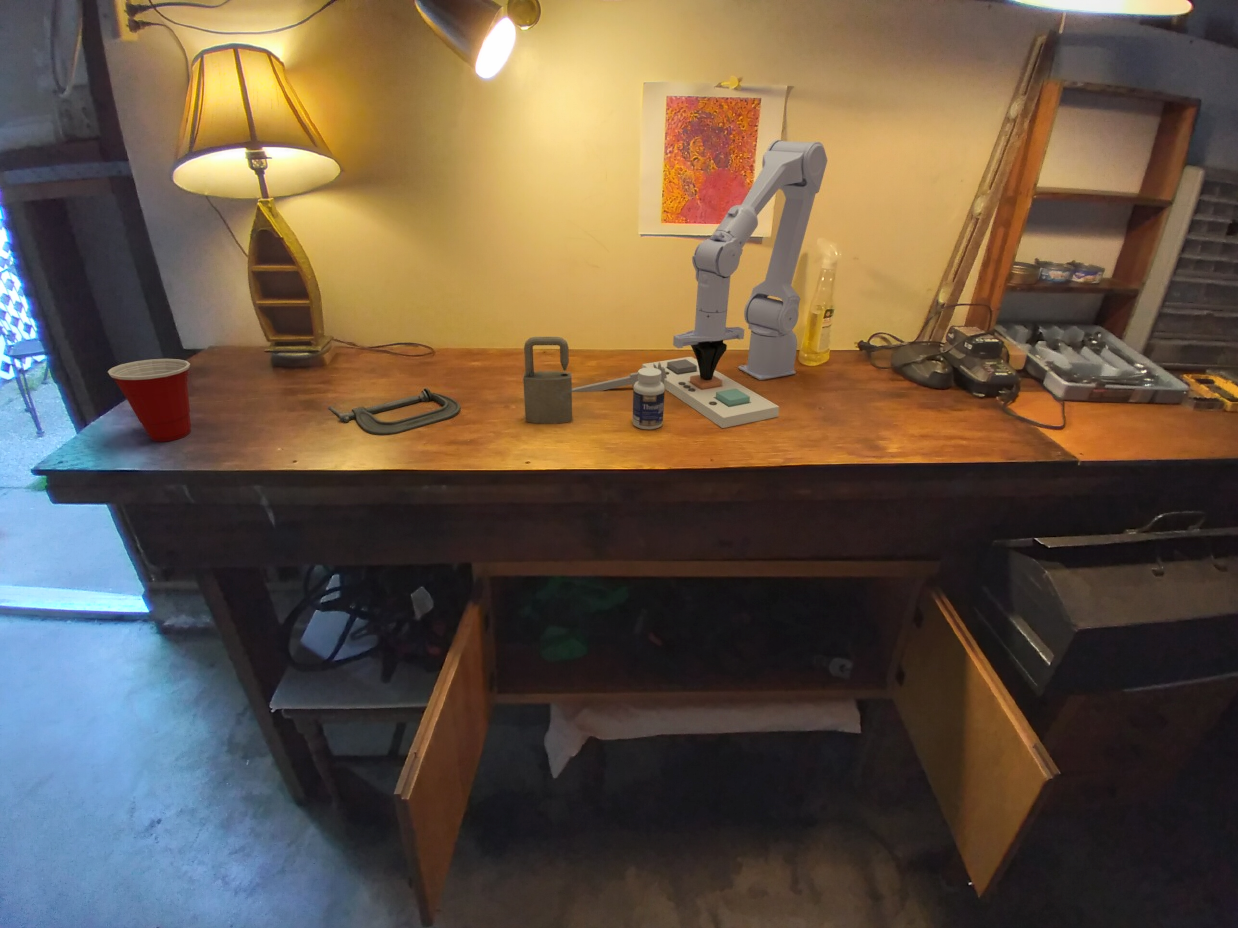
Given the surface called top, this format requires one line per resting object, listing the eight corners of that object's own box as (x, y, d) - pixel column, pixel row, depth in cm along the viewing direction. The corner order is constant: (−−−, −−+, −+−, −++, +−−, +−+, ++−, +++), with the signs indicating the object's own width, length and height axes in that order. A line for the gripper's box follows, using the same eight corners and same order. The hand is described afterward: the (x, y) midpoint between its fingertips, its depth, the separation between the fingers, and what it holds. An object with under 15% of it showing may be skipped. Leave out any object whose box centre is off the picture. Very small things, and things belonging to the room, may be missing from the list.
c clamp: (354, 446, 107) (351, 431, 106) (328, 411, 120) (325, 397, 118) (470, 419, 117) (469, 405, 116) (435, 389, 130) (433, 376, 129)
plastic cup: (224, 424, 113) (204, 357, 107) (172, 452, 103) (147, 380, 98) (172, 417, 115) (150, 351, 109) (116, 443, 106) (89, 373, 100)
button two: (684, 372, 138) (685, 359, 137) (695, 379, 135) (696, 365, 133) (666, 375, 136) (667, 362, 135) (677, 382, 133) (678, 368, 131)
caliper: (665, 391, 132) (666, 361, 129) (666, 393, 131) (667, 363, 128) (563, 395, 129) (562, 365, 126) (564, 398, 128) (563, 367, 125)
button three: (708, 387, 131) (709, 373, 130) (720, 395, 128) (722, 380, 126) (689, 390, 129) (690, 376, 128) (701, 398, 126) (702, 383, 124)
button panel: (690, 365, 143) (691, 355, 142) (777, 416, 119) (779, 405, 118) (641, 373, 138) (642, 363, 137) (722, 428, 114) (723, 417, 113)
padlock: (572, 423, 115) (570, 340, 108) (525, 424, 115) (520, 340, 108) (572, 414, 119) (570, 333, 112) (526, 414, 118) (522, 333, 111)
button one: (734, 403, 124) (735, 388, 122) (748, 411, 120) (750, 396, 119) (714, 407, 122) (716, 392, 121) (728, 415, 119) (729, 400, 117)
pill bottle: (641, 432, 112) (643, 379, 108) (626, 421, 116) (628, 368, 112) (668, 427, 114) (671, 374, 110) (653, 415, 119) (655, 364, 114)
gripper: (731, 300, 127) (725, 367, 133) (666, 307, 121) (662, 377, 127) (753, 309, 121) (746, 378, 127) (686, 317, 115) (681, 389, 122)
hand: (705, 378), depth 127 cm, fingers closed, pressing on button three
